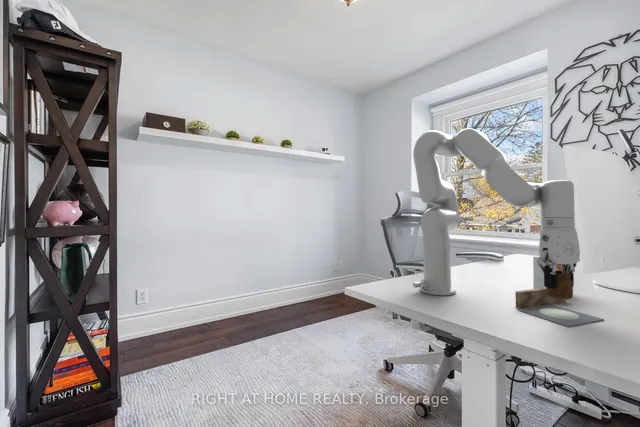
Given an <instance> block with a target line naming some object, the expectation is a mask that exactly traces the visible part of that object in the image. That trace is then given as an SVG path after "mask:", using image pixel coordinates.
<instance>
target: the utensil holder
mask: <svg viewBox="0 0 640 427" xmlns="http://www.w3.org/2000/svg"><path fill="white" fill-rule="evenodd" d="M565 265H566V264H565ZM568 265H570V264H568ZM561 266H562V265H561ZM571 266H572V265H571ZM549 267H550V265H549ZM571 268H572V267H571ZM561 269H562V268H561ZM567 269H569V268H567ZM555 275H557V289H552V288H548V287H546V288H547V295H548V296H550V297H554V298H559V299H566V300H570V299H572V298H573V296H574V286H573V282H572V280H571V279H570V278H571V274H570V273H569V272H567V271H566V272H565V269H564V268H563V271H556V272H555Z"/></svg>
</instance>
